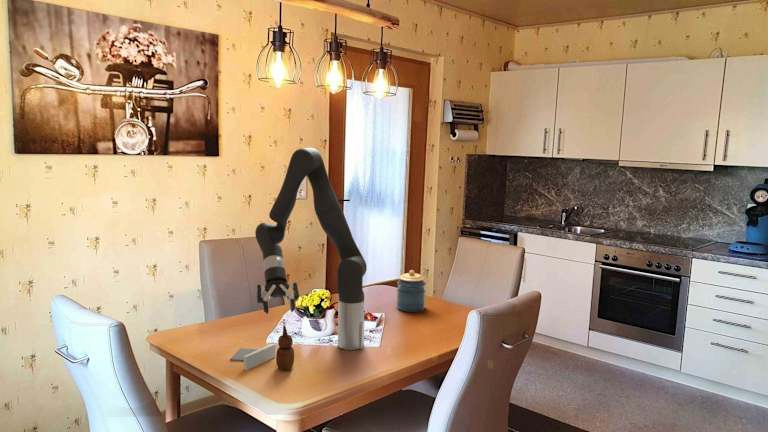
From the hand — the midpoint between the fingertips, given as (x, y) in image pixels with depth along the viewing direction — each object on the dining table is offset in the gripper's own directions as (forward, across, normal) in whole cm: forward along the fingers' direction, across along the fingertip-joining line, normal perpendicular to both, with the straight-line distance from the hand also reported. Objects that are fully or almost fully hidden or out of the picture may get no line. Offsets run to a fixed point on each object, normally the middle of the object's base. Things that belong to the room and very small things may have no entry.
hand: (280, 311), depth 191 cm
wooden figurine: (+19, 0, +4) cm, 19 cm away
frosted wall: (+14, -7, +9) cm, 18 cm away
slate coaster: (+8, -10, +14) cm, 19 cm away
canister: (-18, +66, +41) cm, 80 cm away
